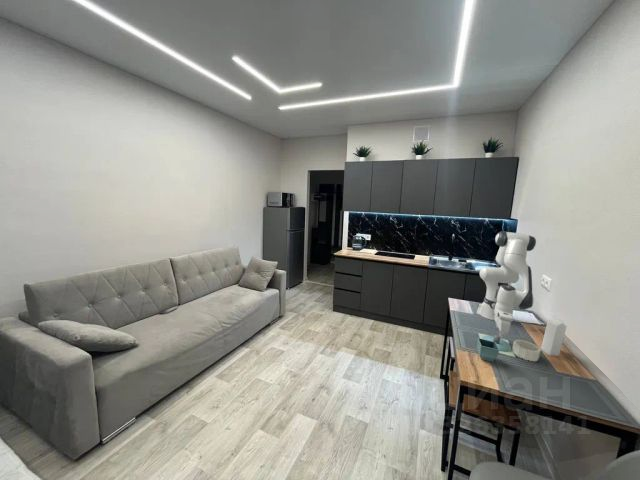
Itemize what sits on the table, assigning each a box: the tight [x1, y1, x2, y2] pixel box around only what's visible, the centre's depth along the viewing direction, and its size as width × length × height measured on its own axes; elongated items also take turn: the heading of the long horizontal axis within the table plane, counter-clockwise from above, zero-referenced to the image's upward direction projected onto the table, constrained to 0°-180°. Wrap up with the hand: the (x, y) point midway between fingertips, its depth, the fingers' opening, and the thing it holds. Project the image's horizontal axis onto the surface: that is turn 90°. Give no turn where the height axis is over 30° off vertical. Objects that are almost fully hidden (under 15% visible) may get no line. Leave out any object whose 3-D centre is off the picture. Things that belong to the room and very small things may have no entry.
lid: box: [482, 334, 512, 351], centre depth 158 cm, size 15×15×5 cm
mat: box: [478, 332, 517, 359], centre depth 158 cm, size 20×16×1 cm
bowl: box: [511, 339, 542, 362], centre depth 150 cm, size 12×12×6 cm
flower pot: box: [476, 337, 499, 362], centre depth 143 cm, size 9×9×9 cm
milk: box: [540, 316, 567, 356], centre depth 153 cm, size 6×6×22 cm
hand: (498, 333), depth 156 cm, fingers open, 8 cm apart
